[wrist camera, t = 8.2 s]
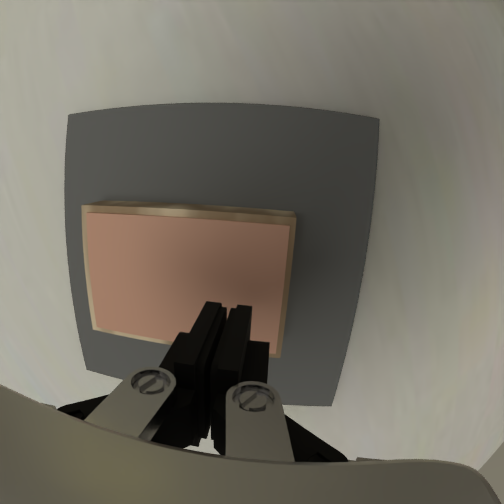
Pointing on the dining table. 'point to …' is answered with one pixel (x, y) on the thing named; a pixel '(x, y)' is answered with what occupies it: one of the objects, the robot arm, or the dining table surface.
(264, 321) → the tile
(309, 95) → the dining table surface
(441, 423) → the dining table surface
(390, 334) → the dining table surface
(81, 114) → the mat
